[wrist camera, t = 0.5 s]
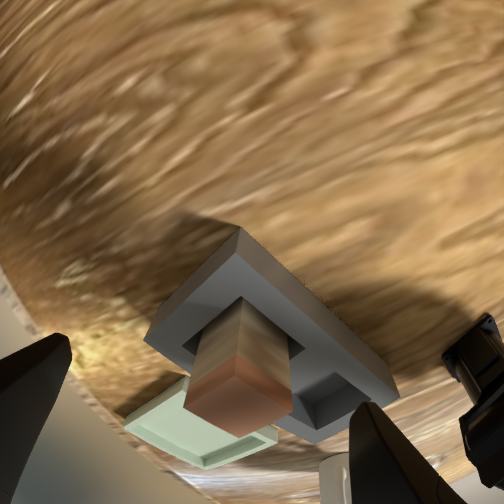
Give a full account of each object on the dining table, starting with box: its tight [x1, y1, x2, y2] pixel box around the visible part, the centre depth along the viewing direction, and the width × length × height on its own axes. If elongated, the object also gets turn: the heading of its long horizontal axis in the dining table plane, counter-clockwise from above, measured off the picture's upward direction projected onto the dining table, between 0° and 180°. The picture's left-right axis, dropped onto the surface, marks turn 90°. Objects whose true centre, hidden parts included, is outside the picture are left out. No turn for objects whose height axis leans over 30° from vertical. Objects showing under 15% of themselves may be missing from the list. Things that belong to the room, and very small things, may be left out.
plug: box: [183, 296, 293, 438], centre depth 18 cm, size 4×4×8 cm
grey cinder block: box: [143, 227, 400, 444], centre depth 22 cm, size 18×9×4 cm, turn 46°
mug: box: [318, 453, 352, 504], centre depth 26 cm, size 10×7×12 cm, turn 20°
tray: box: [122, 376, 278, 470], centre depth 28 cm, size 12×12×2 cm
